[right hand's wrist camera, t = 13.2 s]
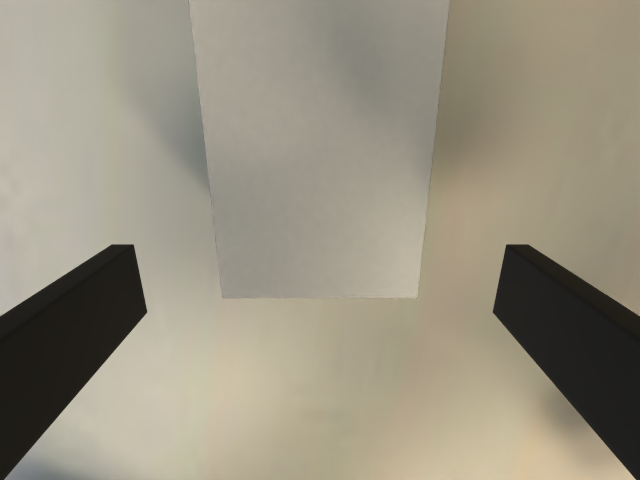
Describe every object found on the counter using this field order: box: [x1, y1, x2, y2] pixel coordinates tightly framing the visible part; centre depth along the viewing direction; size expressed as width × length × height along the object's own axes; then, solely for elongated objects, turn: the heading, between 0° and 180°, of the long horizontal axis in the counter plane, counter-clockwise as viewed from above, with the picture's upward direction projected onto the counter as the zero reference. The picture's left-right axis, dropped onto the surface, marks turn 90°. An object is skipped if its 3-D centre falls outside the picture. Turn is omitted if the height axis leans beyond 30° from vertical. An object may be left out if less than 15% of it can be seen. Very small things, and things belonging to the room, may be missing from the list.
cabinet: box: [189, 0, 450, 298], centre depth 20 cm, size 17×10×9 cm, turn 0°
